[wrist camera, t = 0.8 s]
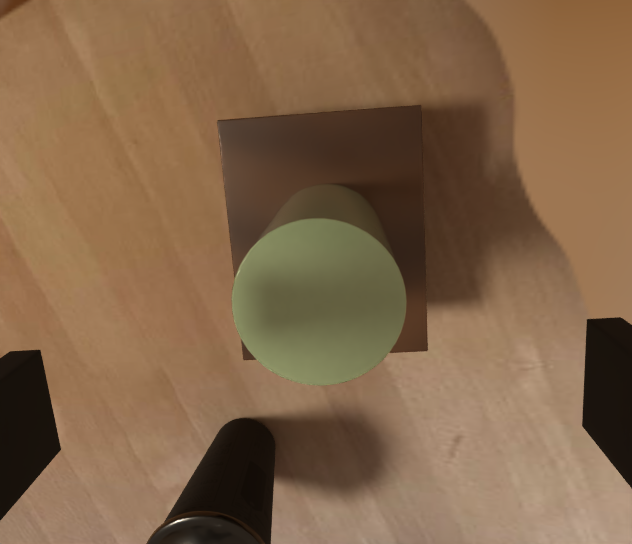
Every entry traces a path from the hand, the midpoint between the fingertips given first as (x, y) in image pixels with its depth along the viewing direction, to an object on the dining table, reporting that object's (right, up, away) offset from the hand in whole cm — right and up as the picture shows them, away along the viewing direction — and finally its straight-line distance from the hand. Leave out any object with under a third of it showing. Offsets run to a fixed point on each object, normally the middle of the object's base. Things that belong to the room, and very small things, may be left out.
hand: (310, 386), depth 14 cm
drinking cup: (-6, -11, +33) cm, 35 cm away
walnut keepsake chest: (+1, +7, +27) cm, 28 cm away
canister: (+1, +5, +19) cm, 19 cm away
